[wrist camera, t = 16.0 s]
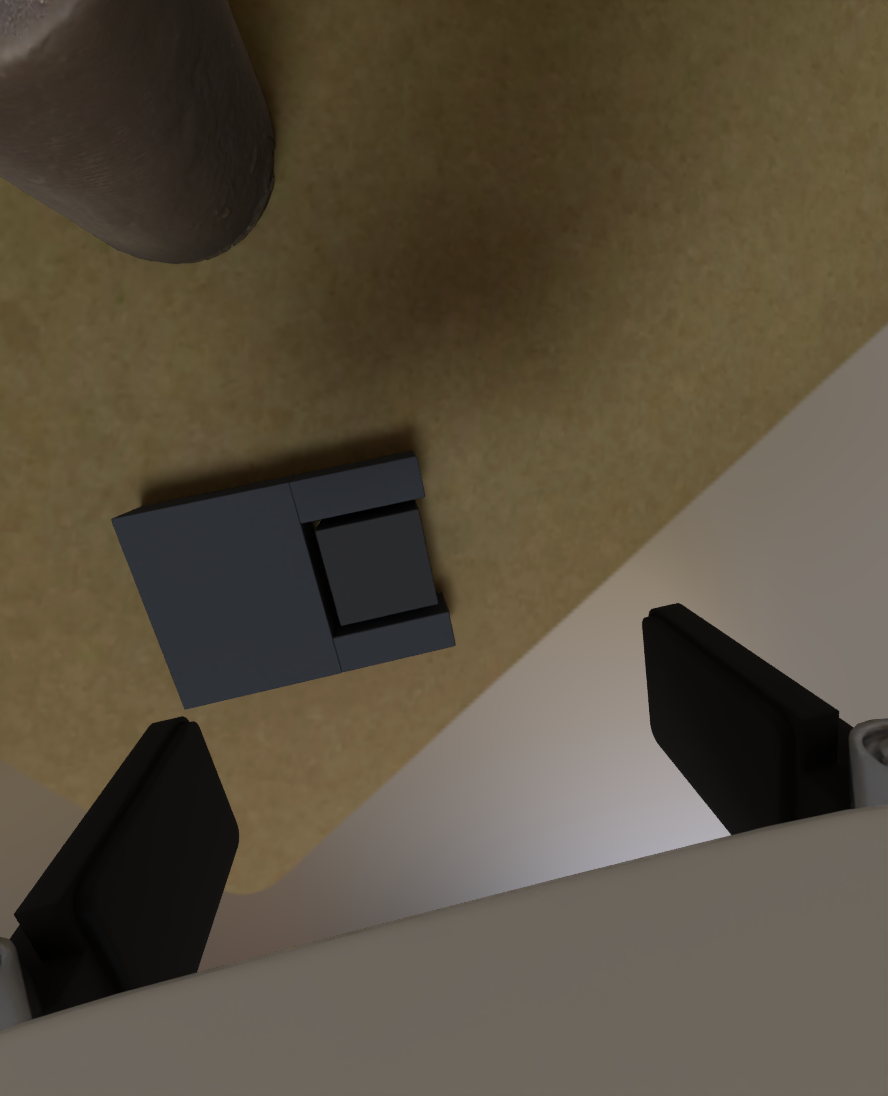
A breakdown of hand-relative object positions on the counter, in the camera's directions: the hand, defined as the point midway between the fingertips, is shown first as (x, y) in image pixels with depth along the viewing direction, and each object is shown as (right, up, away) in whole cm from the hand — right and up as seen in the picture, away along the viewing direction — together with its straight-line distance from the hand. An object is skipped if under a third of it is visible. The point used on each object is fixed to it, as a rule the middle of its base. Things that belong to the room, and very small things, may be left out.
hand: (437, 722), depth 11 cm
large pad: (-7, +2, +17) cm, 19 cm away
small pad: (-3, +3, +17) cm, 18 cm away
